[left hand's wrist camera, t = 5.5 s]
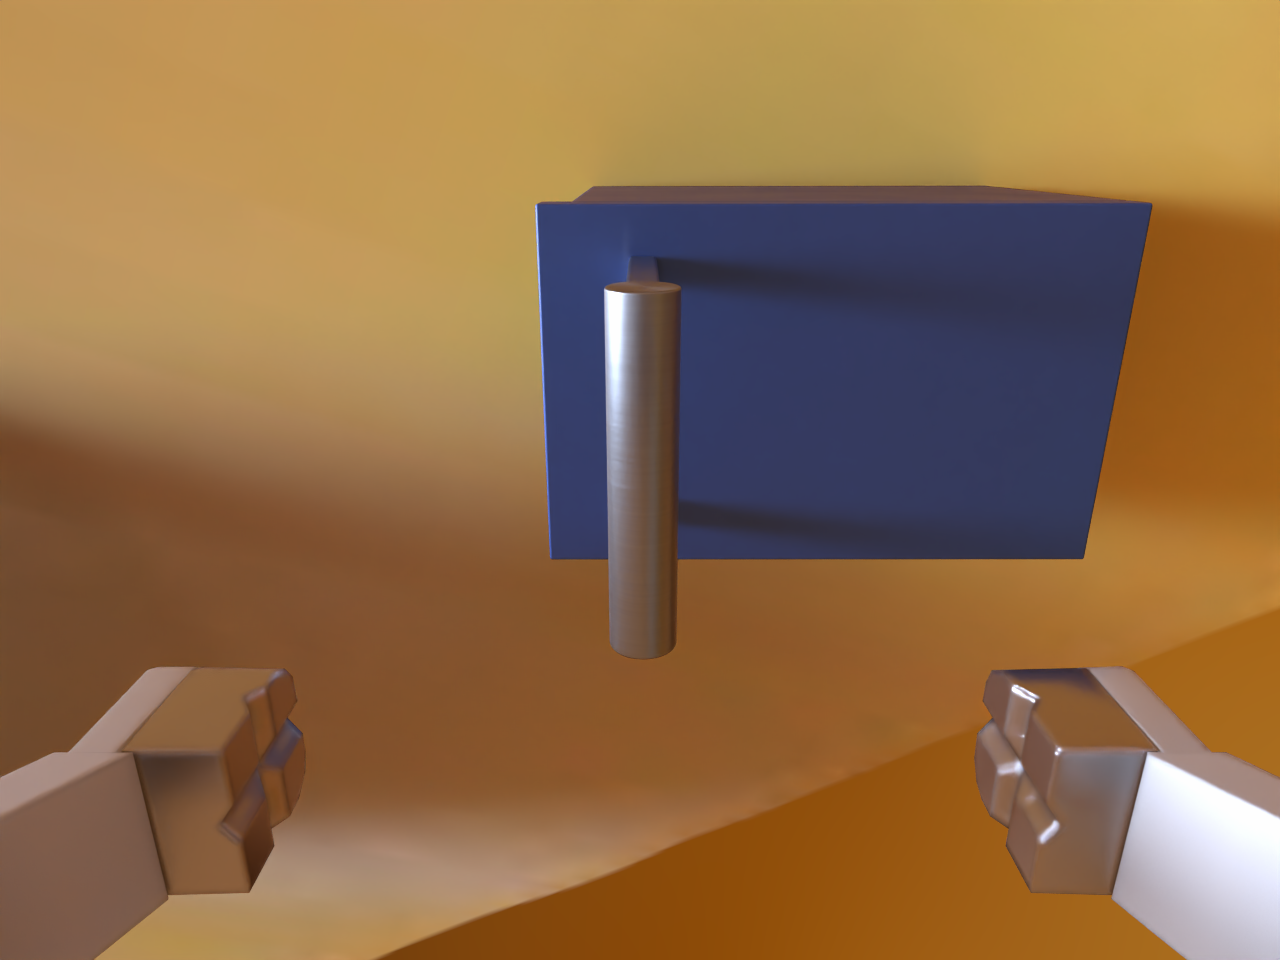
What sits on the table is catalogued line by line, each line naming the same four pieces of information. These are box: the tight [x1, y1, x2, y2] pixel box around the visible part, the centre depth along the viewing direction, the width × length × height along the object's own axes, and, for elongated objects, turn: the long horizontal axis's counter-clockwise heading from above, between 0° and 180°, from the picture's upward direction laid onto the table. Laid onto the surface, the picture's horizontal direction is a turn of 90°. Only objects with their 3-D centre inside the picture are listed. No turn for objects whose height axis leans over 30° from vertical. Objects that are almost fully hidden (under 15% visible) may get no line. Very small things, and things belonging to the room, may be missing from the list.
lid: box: [535, 201, 1152, 659], centre depth 21 cm, size 15×10×8 cm, turn 90°
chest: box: [572, 186, 1126, 202], centre depth 29 cm, size 15×10×10 cm
